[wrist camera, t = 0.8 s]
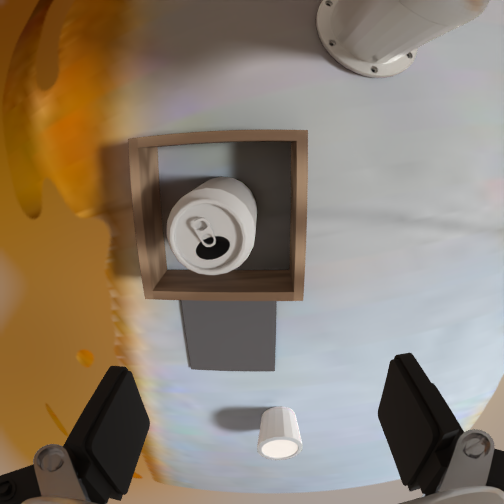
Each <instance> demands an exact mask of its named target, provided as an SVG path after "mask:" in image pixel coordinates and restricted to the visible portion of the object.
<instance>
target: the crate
mask: <svg viewBox="0 0 504 504" xmlns="http://www.w3.org/2000/svg"><path fill="white" fill-rule="evenodd" d="M223 142H291V219H290V265H289V270H232V271H230V272H228V273H224V274H218V275H205V274H198V273H196V272H194V271H191V270H167V264H166V255H165V246H164V236H163V225H162V213H161V201H160V187H159V170H158V149H157V147H162V146H173V145H187V144H203V143H223ZM128 144H129V164H130V179H131V192H132V204H133V214H134V223H135V232H136V240H137V248H138V256H139V263H140V270H141V276H142V283H143V289H144V295H145V299H162V300H199V301H303V293H304V275H305V254H306V227H307V183H308V130H229V131H208V132H192V133H179V134H168V135H158V136H148V137H140V138H132V139H128Z"/></svg>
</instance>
